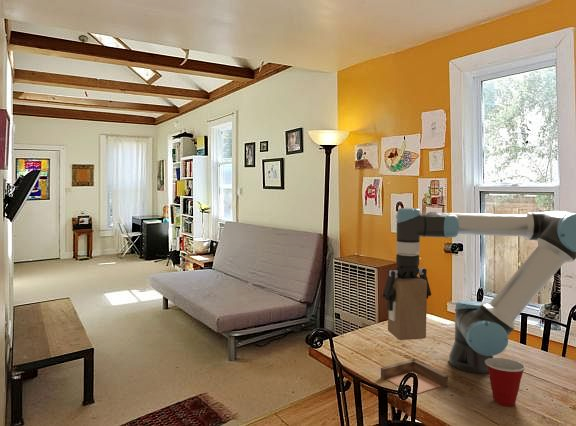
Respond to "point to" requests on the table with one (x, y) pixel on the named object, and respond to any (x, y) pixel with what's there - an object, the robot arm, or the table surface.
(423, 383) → the tile
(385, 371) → the arena
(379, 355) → the table surface
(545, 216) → the robot arm
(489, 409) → the table surface
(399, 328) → the block
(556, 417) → the table surface
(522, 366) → the plastic cup
